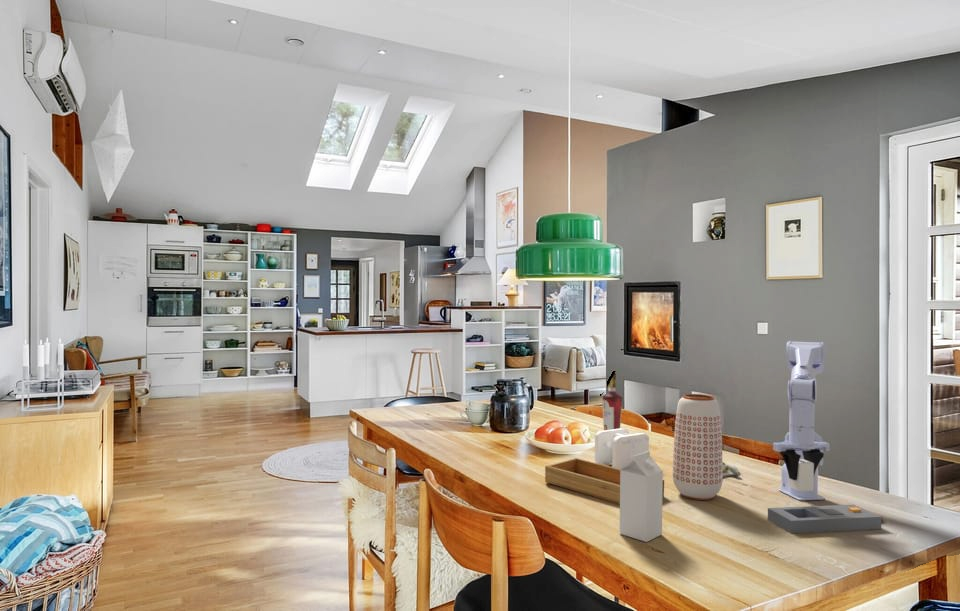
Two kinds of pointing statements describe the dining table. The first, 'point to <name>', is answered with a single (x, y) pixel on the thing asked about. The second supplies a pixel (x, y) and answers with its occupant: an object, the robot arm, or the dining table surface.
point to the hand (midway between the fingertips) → (801, 478)
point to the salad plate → (729, 470)
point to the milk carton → (641, 498)
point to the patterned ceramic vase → (698, 447)
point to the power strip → (824, 518)
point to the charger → (803, 477)
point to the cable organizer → (619, 447)
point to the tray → (586, 478)
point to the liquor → (612, 407)
